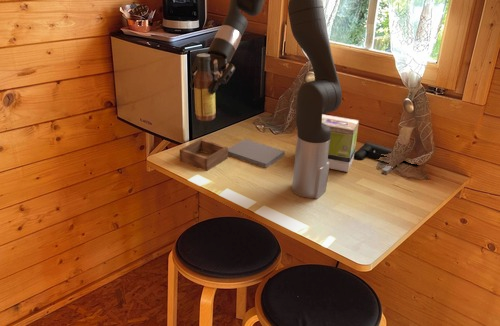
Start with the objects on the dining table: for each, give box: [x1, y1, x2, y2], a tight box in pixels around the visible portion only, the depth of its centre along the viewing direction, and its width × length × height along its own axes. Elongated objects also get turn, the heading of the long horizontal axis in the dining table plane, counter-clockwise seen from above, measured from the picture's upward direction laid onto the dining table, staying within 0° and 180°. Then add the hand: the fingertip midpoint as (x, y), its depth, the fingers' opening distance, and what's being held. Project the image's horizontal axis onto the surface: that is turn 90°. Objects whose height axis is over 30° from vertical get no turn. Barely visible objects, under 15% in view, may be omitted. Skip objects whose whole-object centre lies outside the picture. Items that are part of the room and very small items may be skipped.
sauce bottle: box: [193, 52, 217, 122], centre depth 146 cm, size 6×6×20 cm
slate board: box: [228, 138, 286, 169], centre depth 162 cm, size 16×12×2 cm
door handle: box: [354, 141, 393, 175], centre depth 162 cm, size 3×20×16 cm
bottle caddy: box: [179, 138, 229, 172], centre depth 157 cm, size 11×11×4 cm
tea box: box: [322, 114, 360, 173], centre depth 157 cm, size 15×10×15 cm, turn 69°
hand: (201, 90), depth 145 cm, fingers closed on sauce bottle, 6 cm apart
